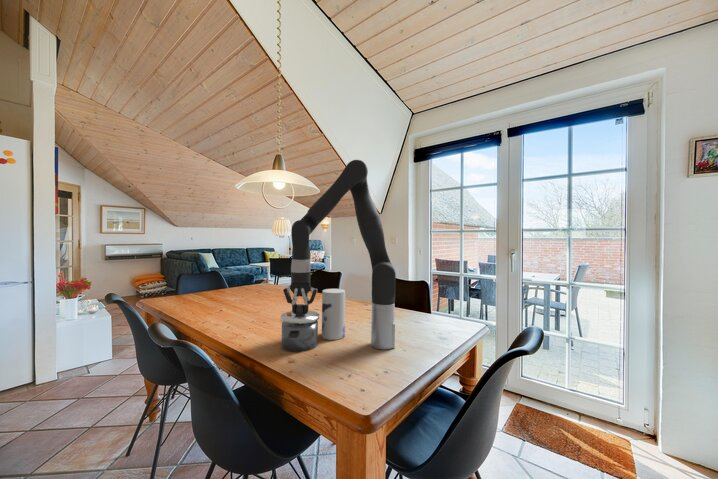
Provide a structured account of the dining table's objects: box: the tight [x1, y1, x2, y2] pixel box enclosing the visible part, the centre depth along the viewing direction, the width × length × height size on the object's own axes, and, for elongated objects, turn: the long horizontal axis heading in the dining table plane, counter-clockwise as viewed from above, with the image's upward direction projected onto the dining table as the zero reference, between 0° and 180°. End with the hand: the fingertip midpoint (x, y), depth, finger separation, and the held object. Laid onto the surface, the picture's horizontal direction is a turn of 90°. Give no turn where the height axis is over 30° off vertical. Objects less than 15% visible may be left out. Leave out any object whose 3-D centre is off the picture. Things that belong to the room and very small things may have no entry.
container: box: [321, 288, 346, 341], centre depth 122 cm, size 10×10×20 cm
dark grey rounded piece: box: [281, 320, 319, 353], centre depth 111 cm, size 21×14×9 cm, turn 178°
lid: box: [280, 303, 320, 324], centre depth 111 cm, size 15×15×5 cm
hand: (300, 313), depth 111 cm, fingers closed on lid, 3 cm apart
